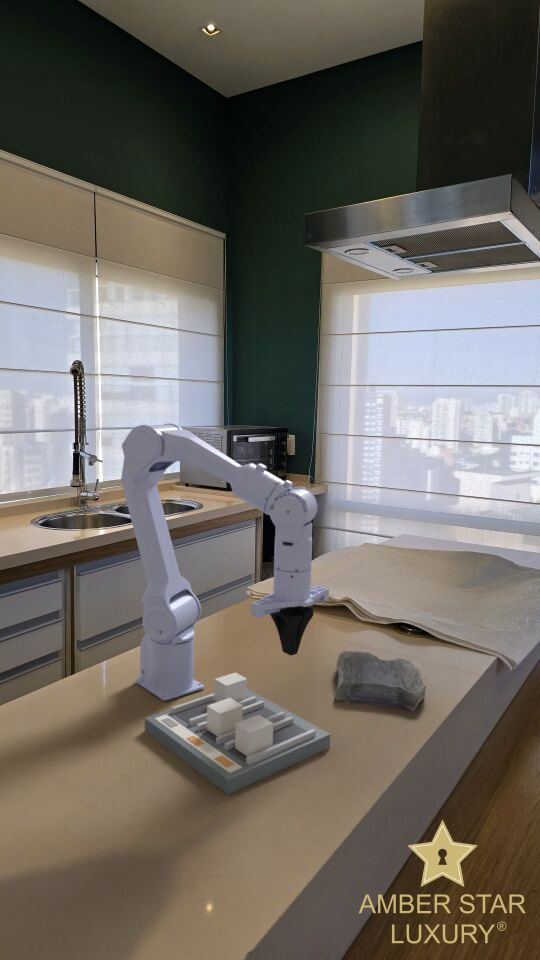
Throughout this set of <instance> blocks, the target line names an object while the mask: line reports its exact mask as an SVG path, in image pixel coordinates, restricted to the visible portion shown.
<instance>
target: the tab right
mask: <svg viewBox="0 0 540 960" xmlns="http://www.w3.org/2000/svg"><path fill="white" fill-rule="evenodd" d="M272 746H273V723H272V722H270V721H269V720H267V719H265V718H264V717H262V716H260V715H257V716H254V717H251V718H249V719H246V720H243V721H241V722H238V723H236V732H235V749H237V750H238V751H240V752H241V753H243V754H244V755H246V756H247V757H249V756H251V755H253V754H256V753H258V752H260V751H263V750H265V749H267V748H270V747H272Z"/></svg>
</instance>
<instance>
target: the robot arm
mask: <svg viewBox="0 0 540 960" xmlns="http://www.w3.org/2000/svg"><path fill="white" fill-rule="evenodd" d="M121 448H122V452H123V456H124V457H123V465H122V470H121V479H120V480H121V485H122V490H123V492H124V497H125V501H126V504H127V508H128V512H129V516H130V519H131V520H130V521H131V524H132V528H133V532H134V537H135V539H136V542H137V547H138V550H139V555H140V559H141V562H142V567H143V570H144V574H145V578H146V582H147V587H146V588H145V591H144V594H143V596H142V599H141V603H142V607H143V615H142V628H143V630H144V632H145V634H144V636H143V638H142V639H141V642H140V647H139V648H140V649H139V653H140V654H139V658H140V659H139V677H138V678H136V679H135V683H137V684H138V685H139V686H141V687H143V688H144V689H145V690H146V691H148V692H150V693H152V694H153V695H154V696H156V697H158V699H160V700H161V701H169V700H172V699H176V698H178V697H182V696H184V695H188V694H191V693H194V692H197V691H200V690H203V689H205V685H204V684H203V683H201V682H199V681H197V680H196V679H194V674H195V673H194V672H195V671H194V670H195V666H194V664H195V662H194V661H195V624H196V623H197V622H198V621H199V620H200V618H201V615H202V605H201V602H200V600H199V598H198V597H197V596H196V595H195V593H194V591H193V589H192V586H191V582H189V581H188V579H186V578H185V577H183V576H182V575H181V573H180V569H179V566H178V562H177V558H176V554H175V549H174V545H173V542H172V539H171V535H170V531H169V527H168V524H167V519H166V515H165V511H164V506H163V503H162V500H161V495H160V491H159V488H158V487H159V486H158V483H159V482H160V480H161V478H162V476H163V475H164V474H165V472H167V469H168V468H170V467H171V466H172V465H174V464H175V463H176V462H188V463H190V464H192V465H195V466H196V467H198V468H200V469H201V470H203V471H206V472H208V473H209V474H210V475H211V474H212V476H213V475H214V476H215V477H217V478H219V479H221V480H223V481H225V482H227V483H228V484H230V487H231V491H232V493H233V494H232V495H234V496H235V497H237V498H239V499H240V500H242V501H243V502H246V503H247V504H249V505H250V506H251V507H253V508H255V509H257V510H258V511H261V512H262V513H263V514H265V515H266V516H267V515H268V516H270V519H271V521H272V524H273V525H274V527H275V531H274V532H275V534H274V535H275V536H274V552H273V553H274V554H273V555H274V556H273V557H274V558H273V559H274V561H273V589H272V590H273V591H272V593H270V594H267V595H266V596H264V597H263V598H261V599H258V600H256V601H252V602H251V605H250V606H251V607H250V608H251V610H250V615H251V616H253V617H255V618H258V619H261V618H264V617H265V616H267V615H270V617H271V619H272V621H273V623H274V625H275V628H276V630H277V633H278V637H279V641H280V645H281V650H282V651H281V652H283V653H284V654H286V655H289V656H293V655H295V656H296V654H298V652H299V649H300V645H301V642H302V638H303V636H304V633H305V631H306V628H307V626H308V624H309V623H310V621H311V620H312V618H313V616H314V613H315V612H314V608H311V607H310V606H313V605H314V603H316V602H328V601H329V600H330V599H329V596H330V594H329V593H330V588H327V587H325V586H315V587H312V586H311V585H312V583H311V582H312V581H311V580H312V560H313V557H312V555H313V554H312V553H313V522H311V521H312V520H313V519H314V518H315V517H316V515H317V513H318V501H317V499H316V497H315V496H314V494H313V493H312V492H311V491H309V490H308V489H307V488H306V487H305V486H304V487H303V486H296V487H295V486H294V487H293V484H294V483H293V482H292V481H290V480H288V479H287V480H285V481H284V480H283V479H281V478H280V477H277V476H276V475H274V474H273V473H271V472H269V471H267V469H268V467H267V465H265V464H263V463H257V464H255V463H253V462H252V463H247V464H244V465H241V464H240V463H238V462H236V461H235V460H234V459H232V458H231V457H229V456H228V455H226V454H224V453H223V452H221V451H220V450H218V449H217V448H215V447H214V446H212V445H211V444H209V443H207V442H206V441H204V440H203V439H201V438H199V437H198V436H197V435H195V434H194V433H193V432H192V431H190V430H187V429H185V428H184V429H183V428H182V427H180V426H179V425H177V424H175V423H170V422H169V423H163V424H153V425H152V424H151V425H148V424H141V425H137V426H135V427H134V428H132V429H131V430H130V432H129V433H128V434H127V436H126V437H125V439H124V441H123V442H122V444H121Z"/></svg>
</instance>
